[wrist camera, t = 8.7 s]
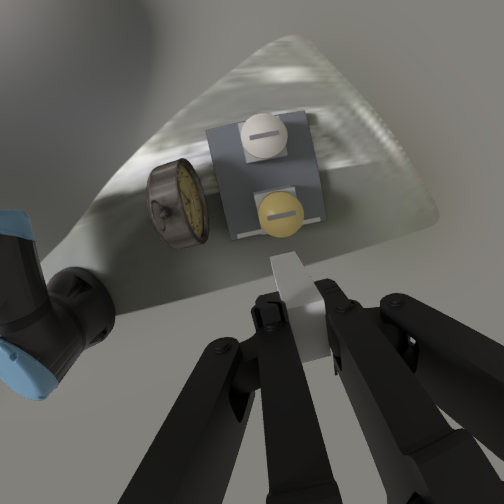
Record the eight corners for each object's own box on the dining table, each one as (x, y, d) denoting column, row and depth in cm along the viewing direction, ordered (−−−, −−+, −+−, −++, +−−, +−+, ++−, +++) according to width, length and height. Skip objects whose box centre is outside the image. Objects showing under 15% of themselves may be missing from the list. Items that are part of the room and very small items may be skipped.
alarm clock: (215, 230, 42) (195, 266, 26) (181, 238, 42) (145, 278, 27) (196, 158, 39) (164, 152, 23) (162, 169, 39) (113, 171, 24)
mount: (232, 237, 42) (228, 250, 36) (207, 132, 38) (199, 124, 31) (323, 217, 42) (337, 227, 35) (302, 113, 37) (312, 102, 30)
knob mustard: (261, 227, 39) (264, 242, 32) (253, 192, 38) (254, 198, 30) (296, 220, 39) (307, 232, 31) (289, 185, 38) (299, 188, 30)
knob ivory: (246, 163, 37) (246, 162, 29) (238, 128, 36) (236, 118, 28) (283, 156, 37) (292, 153, 29) (275, 121, 35) (282, 109, 28)
